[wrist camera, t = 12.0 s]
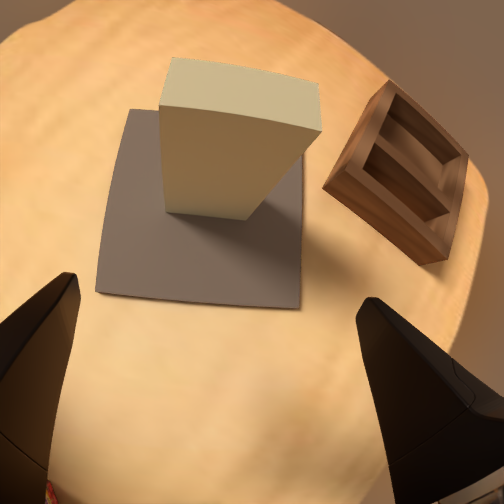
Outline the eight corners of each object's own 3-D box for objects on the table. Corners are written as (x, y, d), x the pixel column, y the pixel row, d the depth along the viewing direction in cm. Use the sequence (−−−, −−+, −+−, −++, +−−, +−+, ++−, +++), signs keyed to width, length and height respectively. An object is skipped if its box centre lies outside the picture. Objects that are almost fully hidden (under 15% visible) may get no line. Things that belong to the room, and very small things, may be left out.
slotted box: (418, 265, 27) (447, 259, 23) (322, 188, 26) (344, 170, 22) (446, 167, 31) (468, 155, 27) (369, 98, 30) (389, 79, 26)
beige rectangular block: (245, 220, 23) (322, 131, 11) (165, 212, 22) (158, 105, 10) (247, 189, 24) (318, 83, 11) (169, 180, 22) (172, 57, 10)
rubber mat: (296, 308, 24) (299, 308, 23) (96, 291, 20) (94, 291, 20) (299, 135, 26) (301, 132, 26) (130, 112, 23) (130, 108, 23)
